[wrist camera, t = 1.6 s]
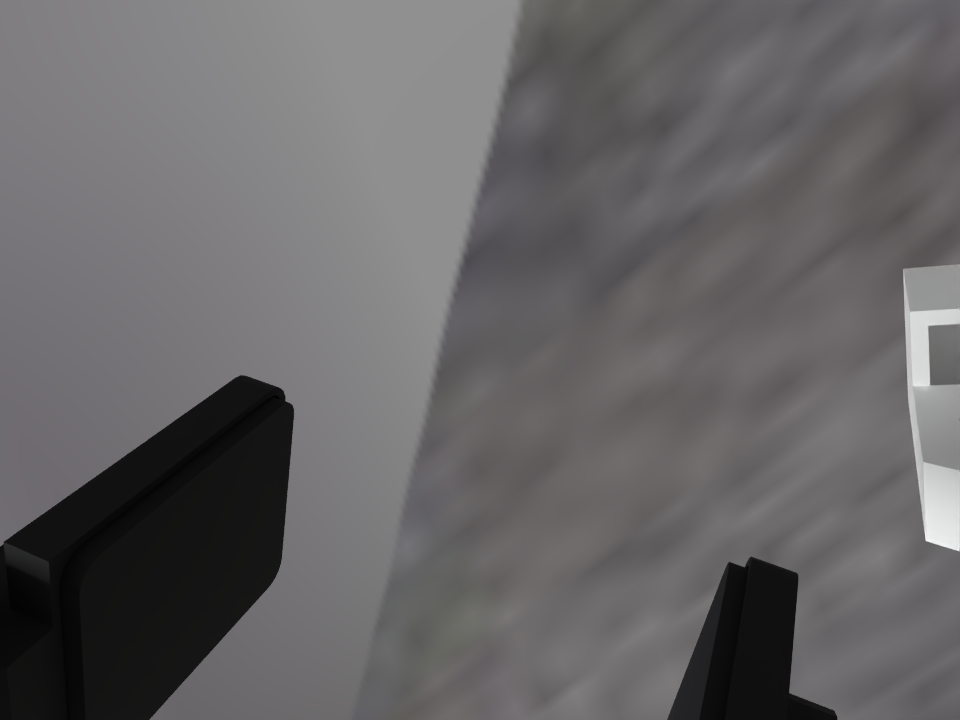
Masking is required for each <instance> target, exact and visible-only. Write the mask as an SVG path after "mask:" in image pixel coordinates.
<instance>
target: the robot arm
mask: <svg viewBox="0 0 960 720" xmlns="http://www.w3.org/2000/svg"><path fill="white" fill-rule="evenodd" d="M293 420H294V409H293V406H292V405H291V404H290V403H288V402H285V395H284V391H283V390H282V389H280V388H279V387H276V386H273V385H270V384H267V383H265V382H262V381H259V380H256V379H253V378H251V377H248V376H242V375H241V376H239V377H236V378H235V379H233V380H232V381H230V382H229V383H228V384H226V385H225V386H223V387H222V388H221V389H219V390H218V391H216V392H215V393H213V394H212V395H211V396H209V397H208V398H206V399H205V400H204V401H202V402H201V403H199V404H198V405H196V406H195V407H194V408H192V409H191V410H189V411H188V412H187V413H185V414H184V415H182V416H181V417H179V418H178V419H177V420H175V421H174V422H172V423H171V424H170V425H169V426H167V427H165V428H164V429H163V430H161V431H160V432H158V433H157V434H156V435H154V436H153V437H151V438H150V439H148V440H147V441H146V442H145V443H143V444H141V445H140V446H139V447H137V448H136V449H134V450H133V451H132V452H130V453H129V454H127V455H126V456H124V457H123V458H122V459H120V460H119V461H117V462H116V463H115V464H113V465H112V466H110V467H109V468H108V469H106V470H105V471H103V472H102V473H100V474H99V475H98V476H96V477H95V478H93V479H92V480H90V481H89V482H88V483H86V484H85V485H84V486H82V487H81V488H79V489H78V490H77V491H75V492H74V493H72V494H71V495H70V496H68V497H67V498H65V499H64V500H62V501H61V502H60V503H58V504H57V505H55V506H54V507H52V508H51V509H50V510H48V511H47V512H45V513H44V514H42V515H41V516H40V517H38V518H37V519H36V520H34V521H33V522H31V523H30V524H28V525H27V526H25V527H24V528H23V529H21V530H20V531H18V532H17V533H16V534H14V535H13V536H12V537H10V538H9V539H7V540H6V541H4V544H3V545H2V546H0V720H149V719H150V718H151V717H152V716H153V715H154V714H155V713H156V711H157V710H158V709H159V708H160V707H161V706H162V705H163V704H164V703H165V702H166V700H167V699H168V698H169V697H170V696H171V695H172V694H173V693H174V692H175V690H176V689H177V688H178V687H179V686H180V685H181V684H182V682H184V680H185V679H186V678H187V677H188V676H189V675H190V674H191V673H192V672H193V670H194V669H195V668H196V667H197V666H198V665H199V664H200V663H201V661H202V660H203V659H204V658H205V657H206V656H207V655H208V654H209V653H210V651H212V649H213V648H214V647H215V646H216V645H217V644H218V643H219V642H220V641H221V639H222V638H223V637H224V636H225V635H226V634H227V633H228V632H229V631H230V630H231V628H232V627H233V626H234V625H235V624H236V623H237V622H238V621H239V619H240V618H241V617H242V616H243V615H244V614H245V613H246V612H247V611H248V610H249V608H250V607H251V606H252V605H253V604H254V603H255V602H256V601H257V600H258V599H259V597H260V596H261V595H262V594H263V593H264V592H265V591H266V590H267V588H268V587H269V586H270V585H271V583H272V582H273V580H274V579H275V577H276V575H277V573H278V570H279V567H280V564H281V559H282V549H283V537H284V526H285V514H286V502H287V490H288V479H289V466H290V455H291V443H292V431H293ZM797 590H798V574H797V573H795V572H793V571H790V570H787V569H784V568H781V567H779V566H776V565H773V564H770V563H767V562H765V561H762V560H759V559H756V558H753V557H750V558H749V560H748V561H747V563H746V566H745V567H742V566H739V565H736V564H734V563H731V562H729V563H728V564H727V566H726V569H725V571H724V574H723V576H722V579H721V581H720V584H719V587H718V589H717V592H716V594H715V597H714V600H713V602H712V605H711V607H710V610H709V613H708V615H707V618H706V620H705V623H704V626H703V628H702V631H701V633H700V636H699V639H698V641H697V644H696V646H695V649H694V652H693V654H692V657H691V659H690V662H689V665H688V667H687V670H686V672H685V675H684V678H683V680H682V683H681V685H680V688H679V691H678V693H677V696H676V698H675V701H674V704H673V706H672V709H671V711H670V714H669V717H668V719H667V720H837V716H836V713H835V711H833V710H831V709H828V708H826V707H823V706H821V705H818V704H815V703H813V702H810V701H808V700H805V699H803V698H800V697H798V696H795V695H792V694H790V693H789V687H790V674H791V662H792V650H793V638H794V626H795V614H796V602H797Z"/></svg>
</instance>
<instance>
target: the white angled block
mask: <svg viewBox="0 0 960 720" xmlns="http://www.w3.org/2000/svg"><path fill="white" fill-rule="evenodd" d="M903 277H904V303H905V328H906V354H907V379H908V401H909V409H910V417H911V425H912V433H913V442H914V450H915V458H916V466H917V474H918V482H919V490H920V498H921V506H922V514H923V522H924V530H925V538H926V541H928V542H931V543H934V544H937V545H941V546H944V547H947V548H950V549H954V550H957V551H960V264H959V265H946V266H934V267H921V268H909V269H903Z"/></svg>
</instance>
